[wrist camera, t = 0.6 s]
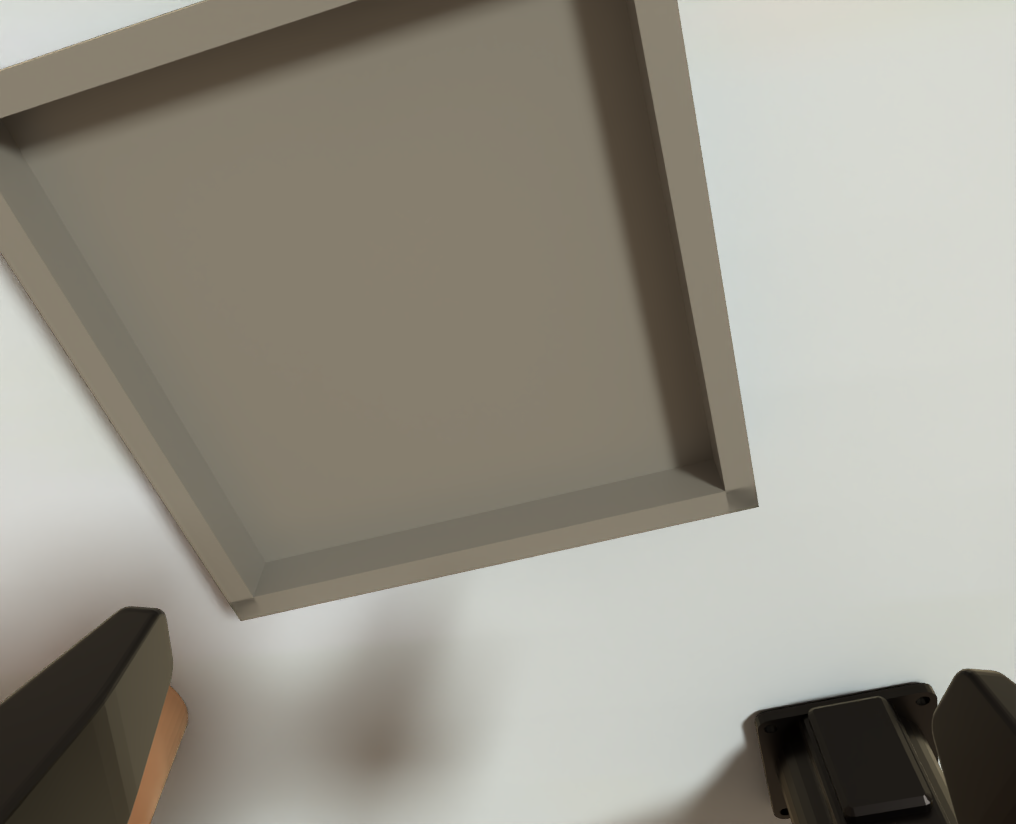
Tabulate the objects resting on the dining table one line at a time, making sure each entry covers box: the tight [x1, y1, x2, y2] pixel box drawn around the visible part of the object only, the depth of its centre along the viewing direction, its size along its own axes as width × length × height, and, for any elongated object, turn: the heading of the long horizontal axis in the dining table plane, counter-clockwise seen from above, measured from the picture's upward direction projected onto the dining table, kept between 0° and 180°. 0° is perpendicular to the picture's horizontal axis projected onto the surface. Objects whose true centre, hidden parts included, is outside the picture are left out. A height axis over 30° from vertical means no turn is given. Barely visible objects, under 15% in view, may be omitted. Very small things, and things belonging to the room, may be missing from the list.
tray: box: [0, 0, 759, 621], centre depth 21 cm, size 16×16×2 cm
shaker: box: [128, 686, 188, 824], centre depth 28 cm, size 5×5×7 cm
